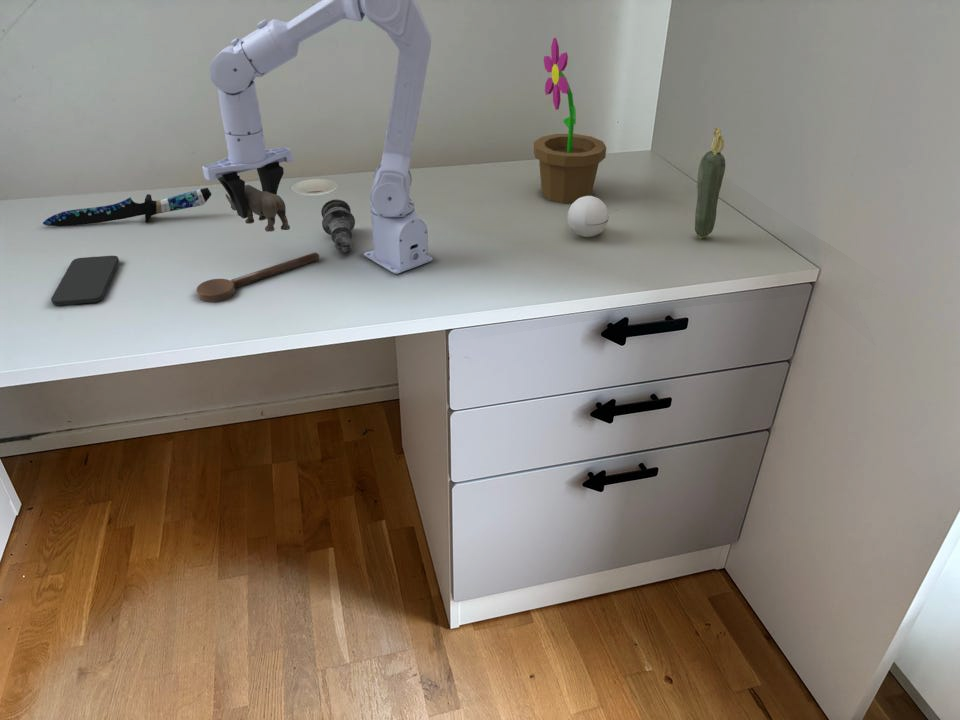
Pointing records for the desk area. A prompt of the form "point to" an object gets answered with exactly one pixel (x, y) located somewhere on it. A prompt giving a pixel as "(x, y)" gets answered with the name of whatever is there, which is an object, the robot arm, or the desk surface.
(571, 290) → the desk surface
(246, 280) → the brown long-handled part
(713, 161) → the vegetable
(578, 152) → the flowerpot
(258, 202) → the rhino figurine
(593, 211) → the white ball
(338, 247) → the grey weathered turned ornament
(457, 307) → the desk surface
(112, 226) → the desk surface
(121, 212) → the knife
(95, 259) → the phone
